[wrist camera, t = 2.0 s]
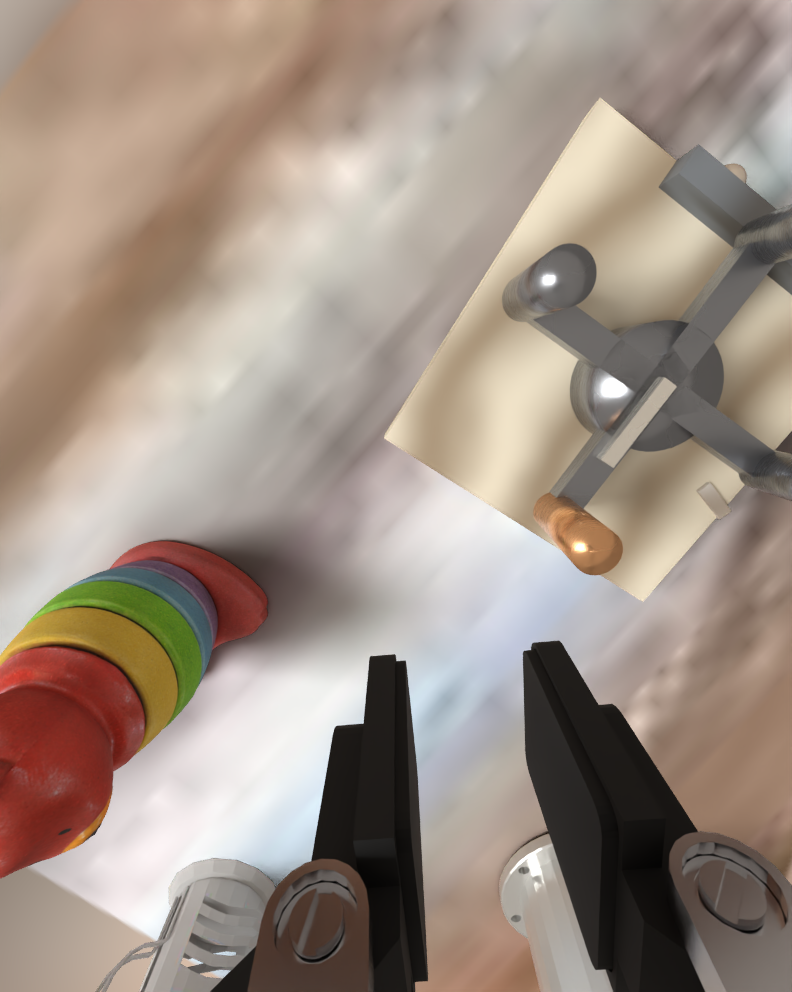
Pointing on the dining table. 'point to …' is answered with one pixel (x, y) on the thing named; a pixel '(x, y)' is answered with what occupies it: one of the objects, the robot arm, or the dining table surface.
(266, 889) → the french press
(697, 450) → the stand
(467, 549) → the dining table surface
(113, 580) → the stacking bear
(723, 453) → the capstan
